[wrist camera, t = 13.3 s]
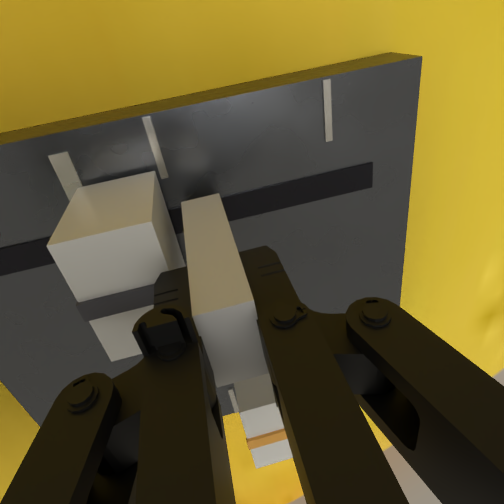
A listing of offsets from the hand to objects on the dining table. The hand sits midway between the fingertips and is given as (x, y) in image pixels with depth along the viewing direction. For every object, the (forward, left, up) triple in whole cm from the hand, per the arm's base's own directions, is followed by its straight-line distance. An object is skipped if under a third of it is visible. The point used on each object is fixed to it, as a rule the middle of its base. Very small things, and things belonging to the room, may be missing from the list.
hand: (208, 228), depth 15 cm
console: (-1, -5, -4) cm, 7 cm away
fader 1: (-3, 0, -2) cm, 3 cm away
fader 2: (+1, -10, -2) cm, 10 cm away
